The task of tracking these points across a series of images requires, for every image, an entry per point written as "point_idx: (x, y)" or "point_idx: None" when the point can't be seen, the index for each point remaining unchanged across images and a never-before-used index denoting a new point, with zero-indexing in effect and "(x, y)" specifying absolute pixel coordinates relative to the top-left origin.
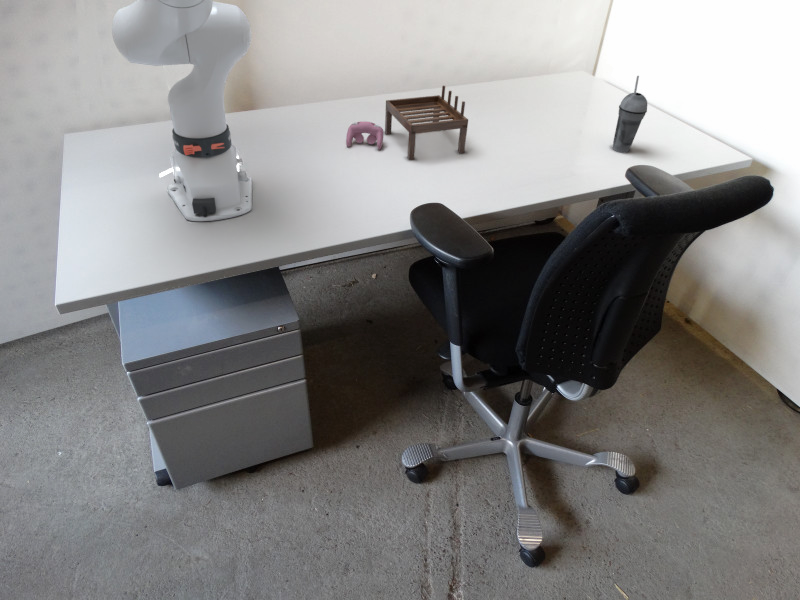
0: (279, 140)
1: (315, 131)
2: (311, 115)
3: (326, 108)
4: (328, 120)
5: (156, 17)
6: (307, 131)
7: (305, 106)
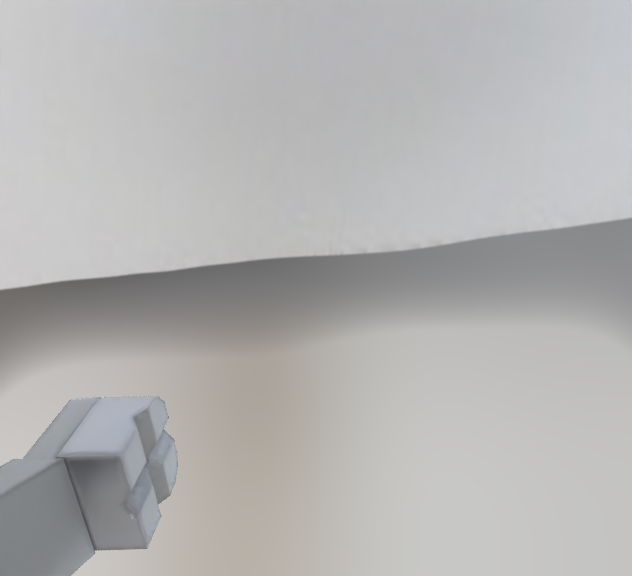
0: (171, 14)
1: (57, 65)
2: (68, 194)
3: (23, 238)
4: (17, 145)
5: None
6: (82, 70)
7: (85, 265)
